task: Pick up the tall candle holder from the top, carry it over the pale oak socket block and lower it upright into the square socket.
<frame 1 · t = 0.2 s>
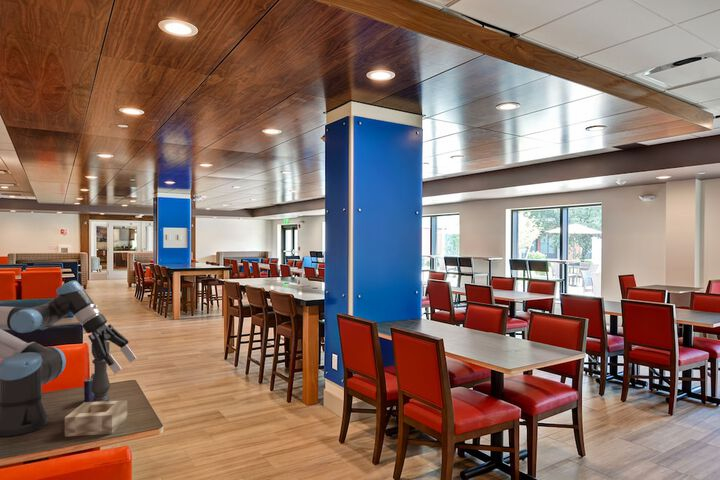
hand: (126, 365, 172), 16 cm above the table, tool tilted 35°, fingers open, 13 cm apart
candle holder: (100, 413, 167), on the table
flask: (93, 401, 180), on the table
socket block: (97, 426, 155), on the table
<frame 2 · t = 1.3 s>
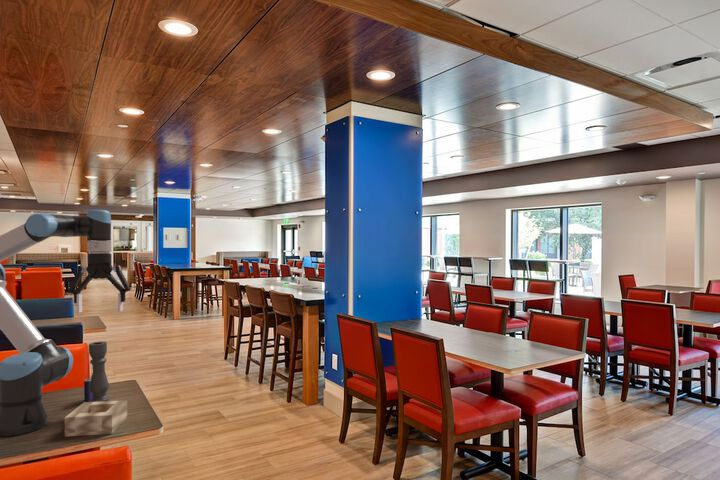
hand: (100, 311, 167), 36 cm above the table, tool pointing down, fingers open, 13 cm apart
nothing on the table moved.
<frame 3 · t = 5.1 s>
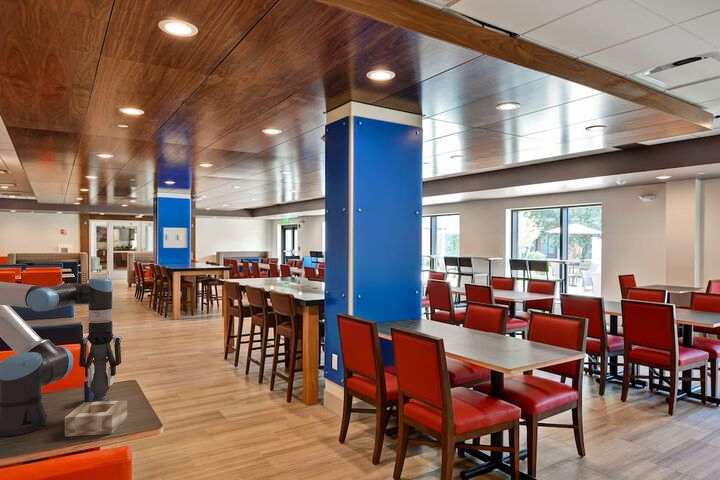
hand: (100, 385, 167), 10 cm above the table, tool pointing down, fingers closed on candle holder, 6 cm apart
candle holder: (100, 413, 167), on the table, touching gripper
everything else where it was.
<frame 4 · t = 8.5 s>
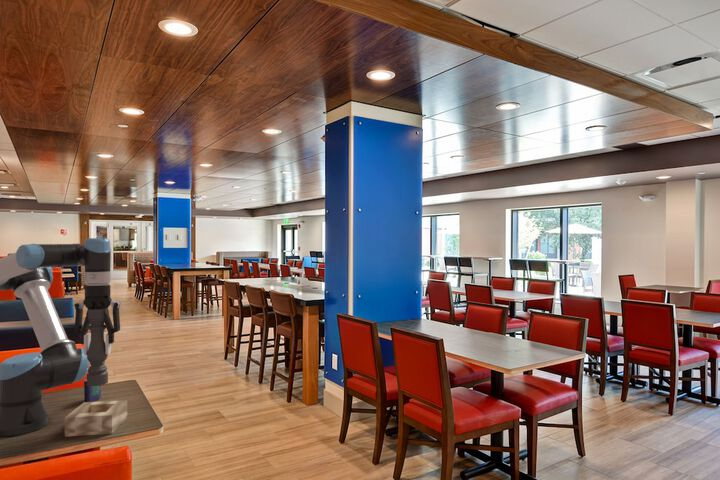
hand: (97, 353, 155), 24 cm above the table, tool pointing down, fingers closed on candle holder, 6 cm apart
candle holder: (97, 383, 155), point 14 cm above the table, touching gripper
everything else where it was.
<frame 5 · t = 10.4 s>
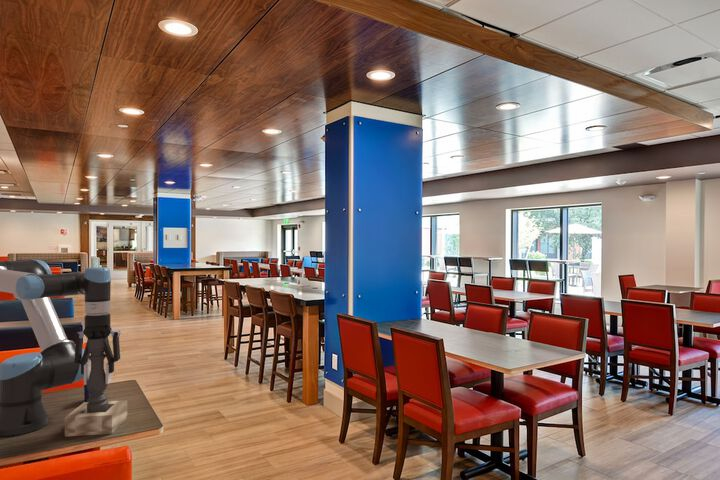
hand: (97, 383, 155), 14 cm above the table, tool pointing down, fingers closed on candle holder, 6 cm apart
candle holder: (97, 413, 155), point 4 cm above the table, touching gripper
everything else where it was.
when the fingers open (12 cm above the table, at t = 12.1 s): candle holder drops 1 cm, resting on socket block.
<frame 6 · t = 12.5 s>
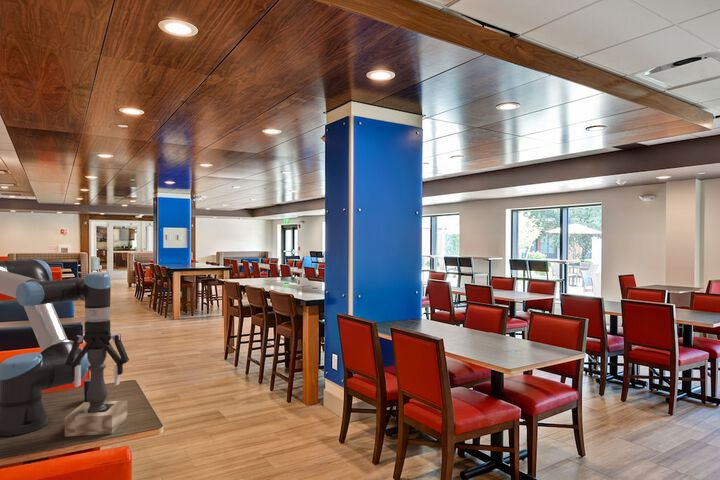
hand: (97, 385, 155), 14 cm above the table, tool pointing down, fingers open, 11 cm apart
candle holder: (97, 423, 155), point 1 cm above the table, touching socket block
everything else where it was.
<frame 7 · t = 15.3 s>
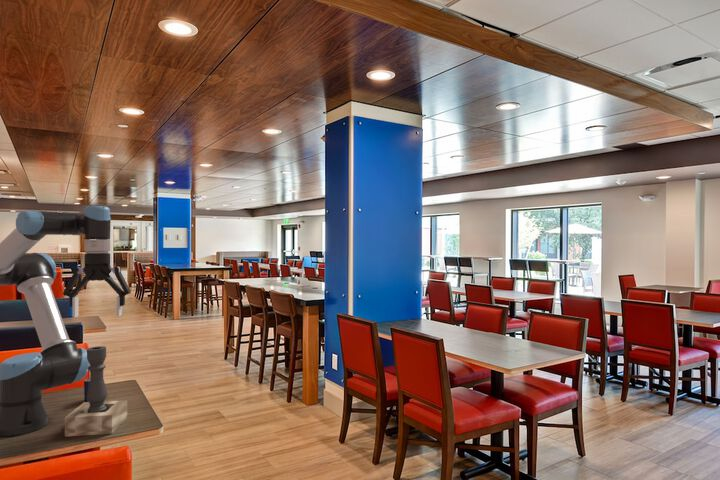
hand: (97, 316, 155), 37 cm above the table, tool pointing down, fingers open, 13 cm apart
nothing on the table moved.
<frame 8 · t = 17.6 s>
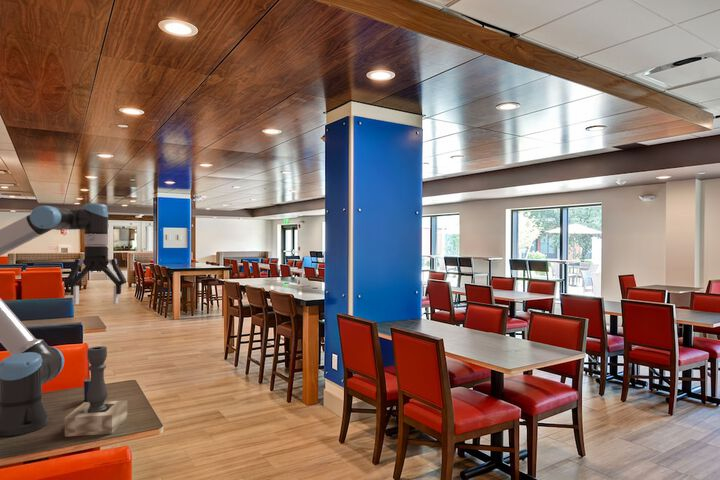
hand: (96, 303, 171), 39 cm above the table, tool pointing down, fingers open, 13 cm apart
nothing on the table moved.
at the end: candle holder 0.1 cm off-centre on the socket block, point 0.8 cm above the socket block's base; candle holder tilted 0°; the gripper is holding nothing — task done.
